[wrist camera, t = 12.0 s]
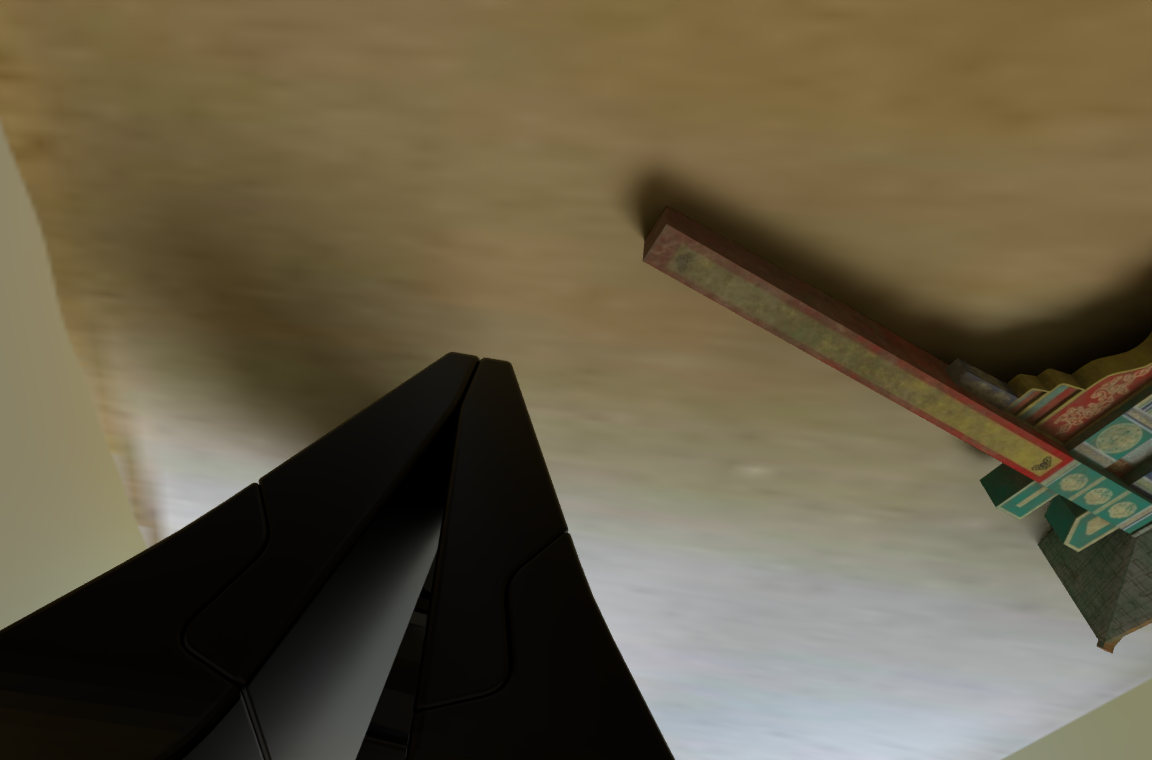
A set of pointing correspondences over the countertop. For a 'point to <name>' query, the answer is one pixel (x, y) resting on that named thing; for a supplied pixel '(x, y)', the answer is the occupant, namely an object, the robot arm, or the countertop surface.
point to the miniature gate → (978, 418)
